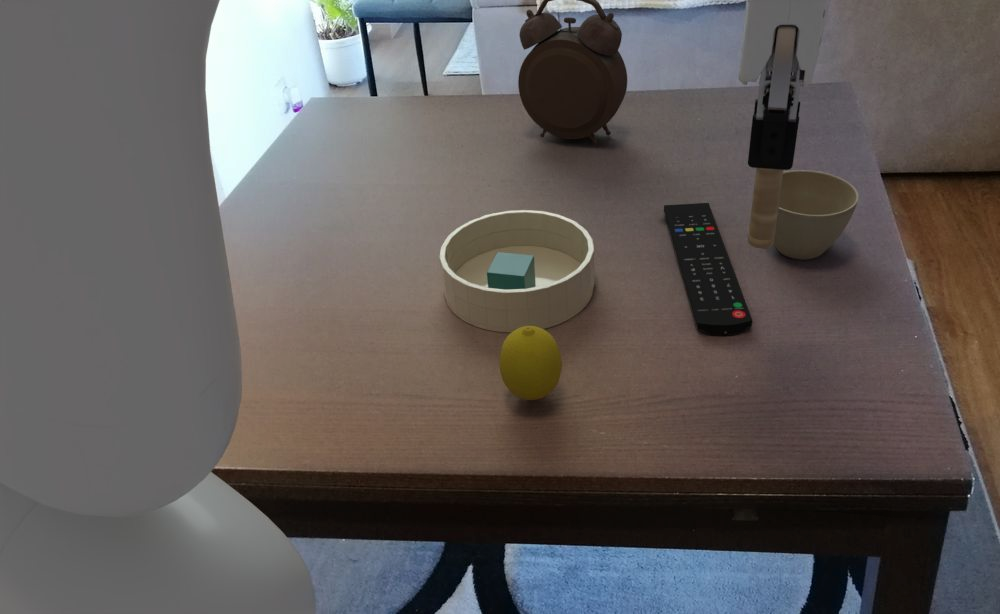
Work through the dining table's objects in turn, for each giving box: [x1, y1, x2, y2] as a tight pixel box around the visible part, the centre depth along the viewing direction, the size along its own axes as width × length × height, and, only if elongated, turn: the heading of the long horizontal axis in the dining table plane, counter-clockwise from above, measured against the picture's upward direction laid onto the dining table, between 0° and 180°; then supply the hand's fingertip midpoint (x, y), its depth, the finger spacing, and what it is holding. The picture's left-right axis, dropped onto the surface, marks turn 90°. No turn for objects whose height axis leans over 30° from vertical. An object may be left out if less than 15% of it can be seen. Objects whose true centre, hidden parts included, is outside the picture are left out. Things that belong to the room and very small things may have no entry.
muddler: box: [747, 88, 792, 249], centre depth 67 cm, size 2×2×13 cm
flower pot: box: [773, 169, 860, 261], centre depth 95 cm, size 10×10×7 cm
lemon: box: [499, 326, 563, 401], centre depth 78 cm, size 6×6×8 cm
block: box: [487, 252, 536, 290], centre depth 91 cm, size 4×4×4 cm
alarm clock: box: [517, 0, 628, 146], centre depth 119 cm, size 15×7×20 cm, turn 65°
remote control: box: [663, 202, 753, 337], centre depth 95 cm, size 5×24×1 cm, turn 179°
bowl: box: [438, 209, 595, 334], centre depth 93 cm, size 16×16×5 cm
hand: (770, 157), depth 66 cm, fingers closed on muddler, 2 cm apart
